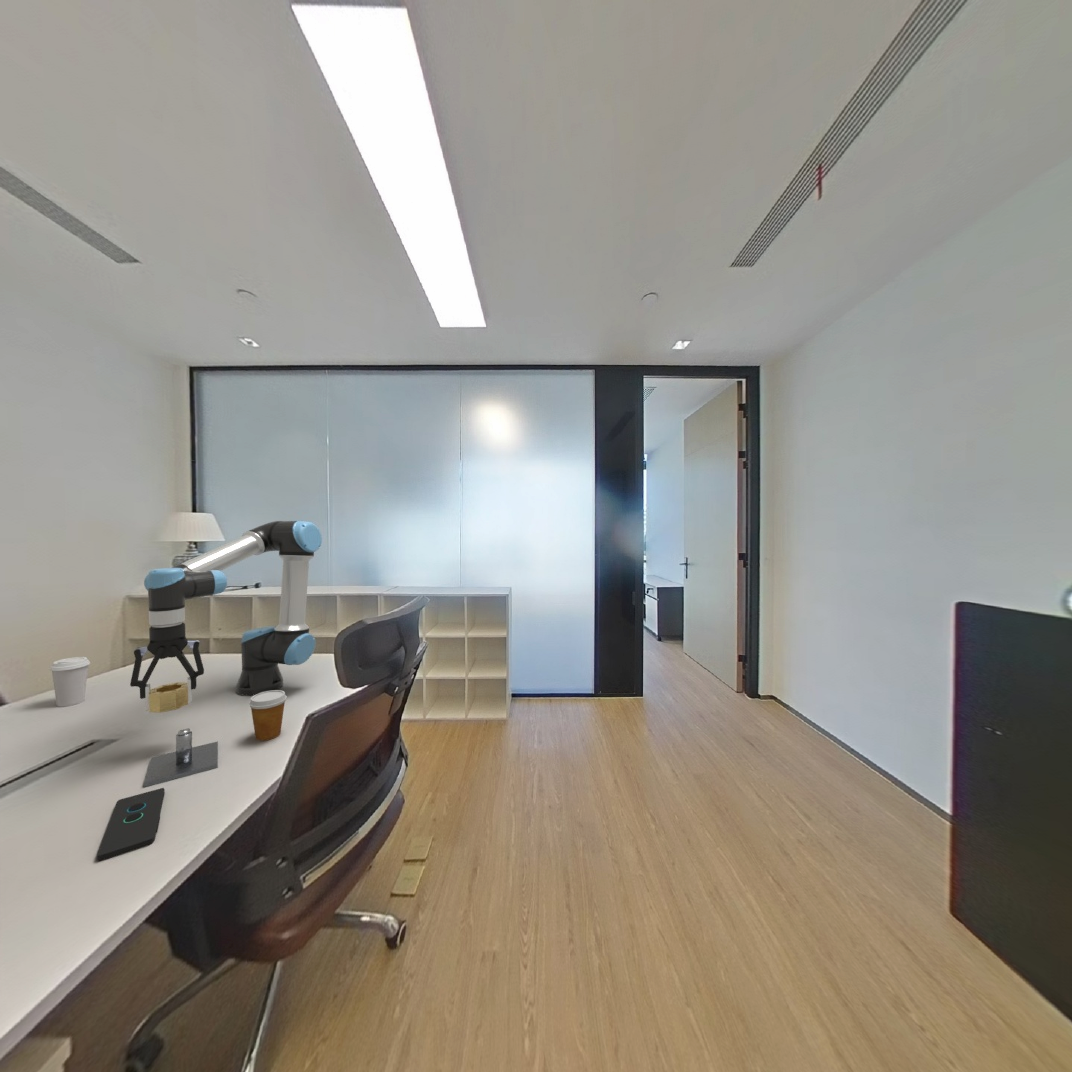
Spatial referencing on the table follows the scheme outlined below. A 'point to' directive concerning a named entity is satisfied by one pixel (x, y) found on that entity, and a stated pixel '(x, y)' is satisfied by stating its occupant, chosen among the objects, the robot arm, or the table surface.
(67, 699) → the coffee cup
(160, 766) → the metal peg stand
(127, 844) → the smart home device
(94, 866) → the table surface
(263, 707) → the disposable coffee cup
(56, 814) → the table surface
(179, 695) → the ring
